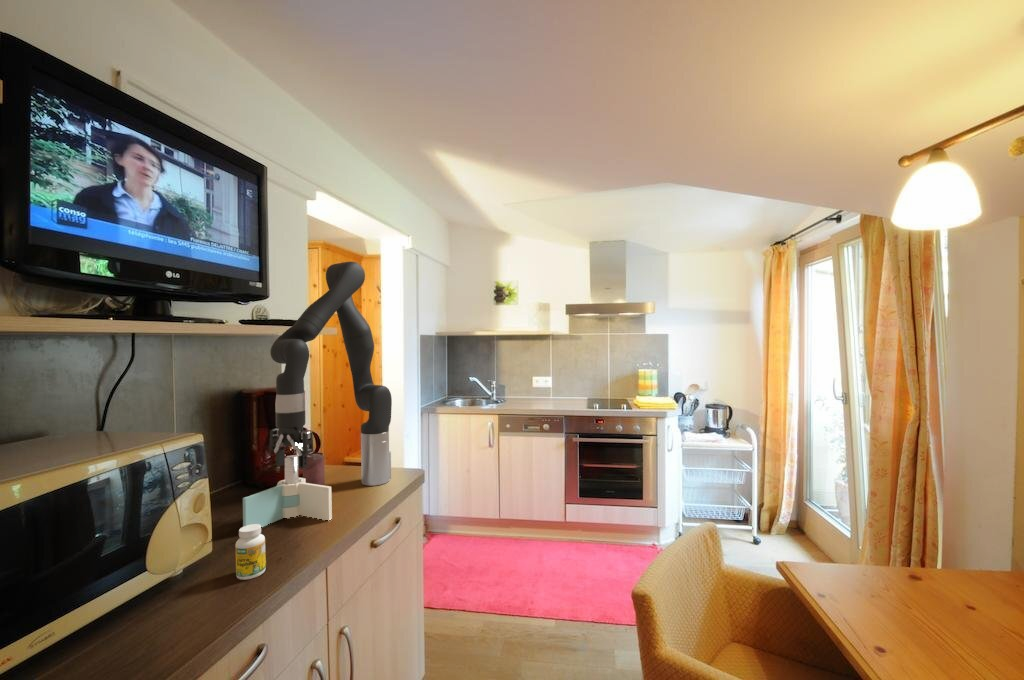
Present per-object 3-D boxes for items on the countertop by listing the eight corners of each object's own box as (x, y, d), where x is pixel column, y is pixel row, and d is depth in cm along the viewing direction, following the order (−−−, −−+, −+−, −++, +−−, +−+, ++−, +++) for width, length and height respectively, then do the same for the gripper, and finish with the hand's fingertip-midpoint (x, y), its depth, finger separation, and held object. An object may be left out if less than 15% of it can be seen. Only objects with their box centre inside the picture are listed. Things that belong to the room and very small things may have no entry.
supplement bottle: (269, 565, 95) (268, 521, 95) (261, 578, 90) (260, 531, 90) (241, 568, 94) (240, 523, 94) (231, 582, 89) (230, 534, 89)
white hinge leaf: (293, 507, 129) (293, 476, 129) (340, 515, 122) (339, 483, 122) (272, 516, 123) (271, 483, 123) (320, 525, 116) (319, 491, 116)
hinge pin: (293, 510, 127) (292, 454, 127) (302, 512, 126) (301, 455, 126) (282, 514, 124) (281, 457, 124) (291, 516, 122) (290, 458, 122)
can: (297, 502, 133) (297, 455, 134) (316, 495, 139) (315, 451, 139) (311, 505, 131) (310, 458, 131) (329, 498, 136) (328, 453, 136)
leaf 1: (293, 507, 129) (293, 476, 129) (311, 510, 127) (310, 479, 127) (235, 531, 113) (234, 496, 113) (254, 536, 110) (253, 500, 110)
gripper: (320, 408, 125) (320, 465, 125) (283, 406, 131) (284, 461, 131) (298, 412, 119) (298, 473, 119) (260, 410, 124) (261, 468, 124)
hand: (291, 467), depth 125 cm, fingers open, 8 cm apart
